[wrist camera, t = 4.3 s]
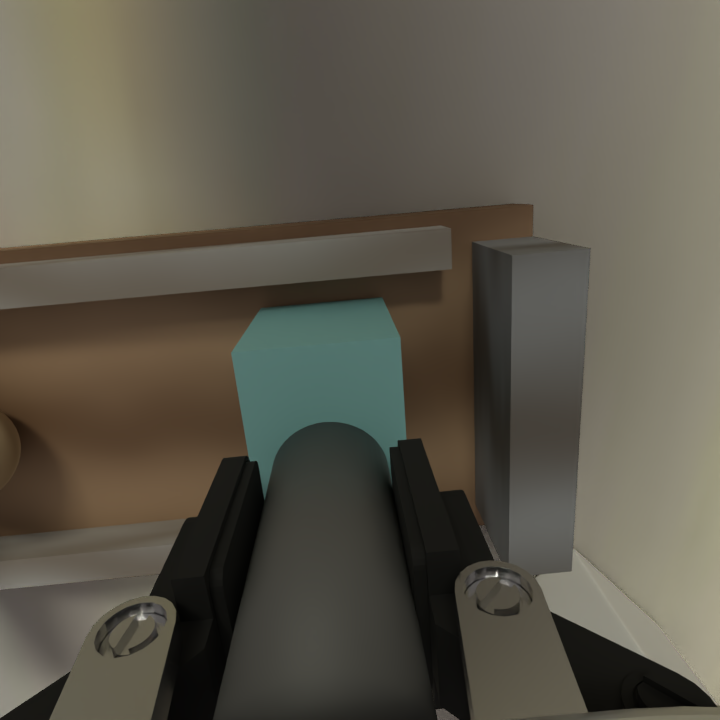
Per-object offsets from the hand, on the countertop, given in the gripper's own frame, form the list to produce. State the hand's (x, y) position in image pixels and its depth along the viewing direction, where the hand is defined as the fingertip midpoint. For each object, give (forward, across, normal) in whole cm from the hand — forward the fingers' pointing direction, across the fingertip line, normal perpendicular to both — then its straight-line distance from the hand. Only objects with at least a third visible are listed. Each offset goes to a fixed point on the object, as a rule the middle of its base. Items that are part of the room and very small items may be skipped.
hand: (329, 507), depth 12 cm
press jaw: (+6, 0, 0) cm, 6 cm away
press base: (+9, +5, 0) cm, 10 cm away
